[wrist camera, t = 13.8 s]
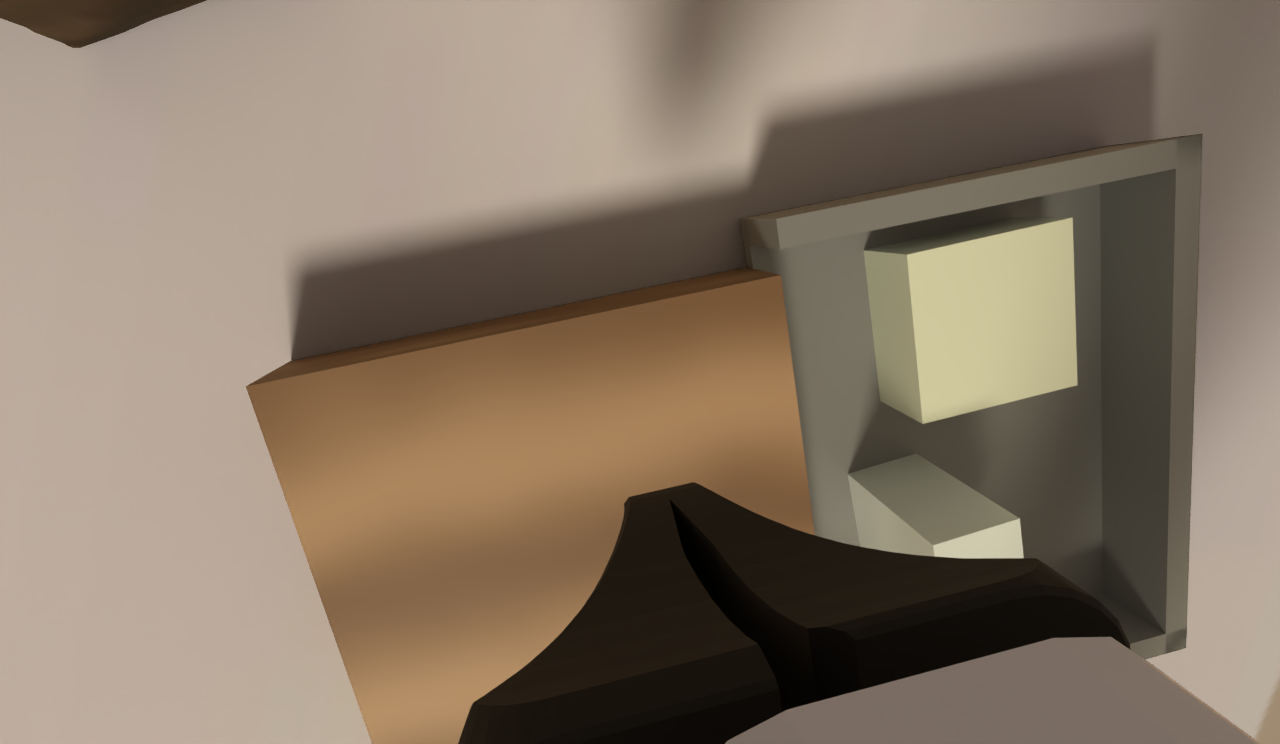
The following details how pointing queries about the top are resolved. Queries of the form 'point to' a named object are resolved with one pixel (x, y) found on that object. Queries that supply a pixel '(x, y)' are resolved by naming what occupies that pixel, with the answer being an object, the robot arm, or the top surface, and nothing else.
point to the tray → (1039, 425)
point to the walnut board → (518, 473)
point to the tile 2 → (974, 316)
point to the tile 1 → (929, 513)
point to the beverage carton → (86, 17)
